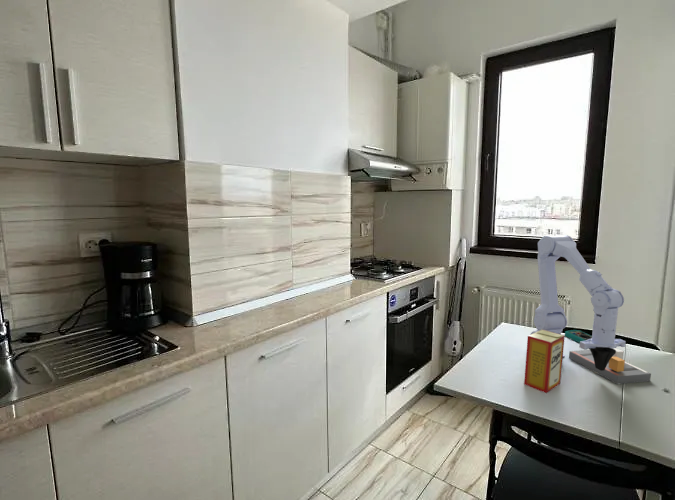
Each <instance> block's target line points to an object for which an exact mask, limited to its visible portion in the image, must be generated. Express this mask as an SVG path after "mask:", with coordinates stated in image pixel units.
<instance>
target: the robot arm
mask: <svg viewBox="0 0 675 500" xmlns="http://www.w3.org/2000/svg"><path fill="white" fill-rule="evenodd" d="M537 252H538V253H537V266H538V268H537V269H538V283H539V293H540V297H539V298H540V305H539V306H538V307H537V308H535V309H534V314H535V315H534V318H533V324H534V326H535V327H536V330H533V331H531V332H530V334H529V335H531V334H533V333H535V332H538V331H540V330H542V329H543V330H546V331H550V332H554V333H557V334H561V335H562V332H563V329H565V328H566V327H567V326H568V319H567V316H566V314H565V310H564V308H563V307H562V306H560V305H559V299H558V298H559V297H558V289H557V288H558V286H557V285H558V284H557V274H556V261H557V260H558V259H559V258H561V257H562V258H564V259H565V260H567V262H568V263H569V264H570V265H571V266H572V267H573V268H574V269H575V271H577V273H578V274H579V282H580V283H581V284H582V285H583V286H584V288H585V289H586V291H587V292H588V294H589V295H590V296H591V297H590V301H591V302H590V303H591V304H592V306H593V307H592V308H593V312H594V313H593V325H592V335H591V336H592V338H591V339H588V340H585V341H580V343H579V348H580V349H583V350H590V351H591V353H592V355H593V358H594V362H595V368H597V369H599V370H601V371H602V370H605V368H606V366H607V364H608V362H609V360H610V359H611V357H612V356H613V355H614V354H615V353H616V350H615V349H612V348H617V347H621V348H626V343H627V342H626V340H623V339H621V338H616V331H617V322H618V313H619V308H620V307H622V306H623V305H624V303H625V298H624V296H623V294H622V292H621V291H620V290H618V289H615V288H614V287H612V286H611V285H610V284H608V282H607V281H606V280H605V279H604V277H603V274H602V273H601V272H600V271H598V270H596V269H591V268H590V266H589V265H588V263H587V262H586V260H585V259H584V257H583V255H581V253H580V252H579V250H578V249H577V243H576V242H575V240H574V239H573V238H572V237H571V236H570V235H544V236H542V237H541V239H539V241H537ZM565 357H566V355H565V354H563V358H565Z"/></svg>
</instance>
